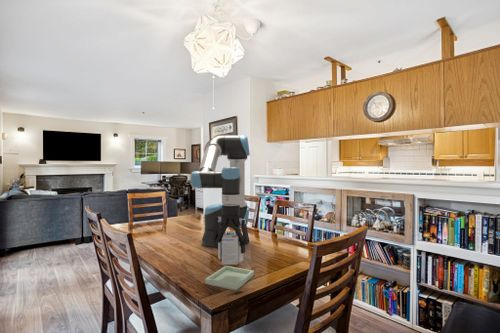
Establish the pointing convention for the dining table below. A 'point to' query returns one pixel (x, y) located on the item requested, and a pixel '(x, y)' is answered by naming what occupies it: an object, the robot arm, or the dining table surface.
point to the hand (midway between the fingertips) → (230, 259)
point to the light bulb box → (230, 248)
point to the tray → (230, 277)
